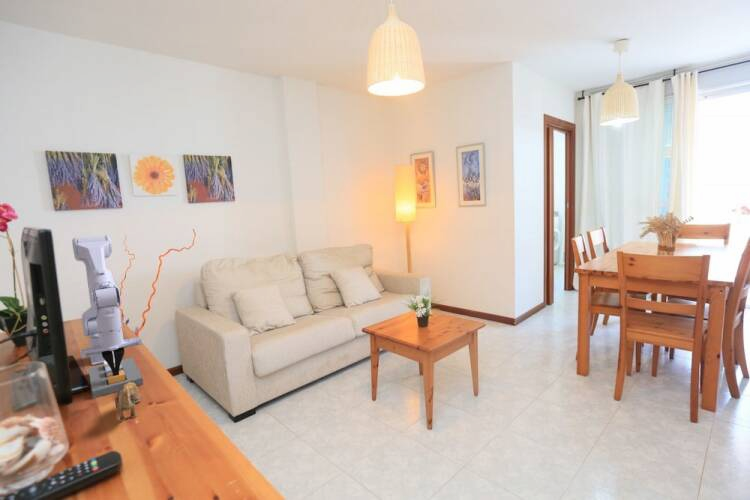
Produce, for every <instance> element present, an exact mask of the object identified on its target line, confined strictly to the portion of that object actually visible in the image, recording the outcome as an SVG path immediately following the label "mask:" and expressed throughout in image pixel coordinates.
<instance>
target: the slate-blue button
mask: <svg viewBox="0 0 750 500" xmlns="http://www.w3.org/2000/svg"><path fill="white" fill-rule="evenodd" d="M114 366H115V365H114ZM105 369H106V376H107V374H110V373H112V370H111V368H110V366H109V367H105ZM122 370H123V369H122V365H121V364H120V369H119V371H122Z"/></svg>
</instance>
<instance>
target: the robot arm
mask: <svg viewBox="0 0 750 500" xmlns="http://www.w3.org/2000/svg"><path fill="white" fill-rule="evenodd" d="M71 241H72V242H71V243H72V250H73V255H74V259H75V261H77V262H82V263H83V264H84V266H85V272H86V281H87V287H88V296H89V304H90V307H89V308H88V309H87V310H85V311H84V312H83V313H82V315H81V318H82V319H81V324H82V330H83V335H84V336H86V337H88V338H89V344H90V347H87V348H83V349H80V356H81V359H85V358H87V357H90V358H89V359H90V363H91V366H96V365H98V364H102V363H103V364H104V361H106V362H107V363H108V365H109V366H110V368H111V370H112V373H113V376H116V375H119V369H120V364H121V360H123V358H124V355H125V349H126V348H131V347H136V346H142V345H143V340H142V337H140V336H139V337H133V338H126V339H124V335H123V325H122V318H121V310H120V307H121V304H122V303H121V302H122V298H121V297H122V296H121V292H120V290H119V287H118V285H117V284H115V280H114V277H113V273H112V271H111V270H110V269H107V267H106V259H107V258H109V257H110V256H111V255H112V252H113V248H112V247H113V246H112V240H111V237H110V236H109V235H99V236H86V237H73V238H72V240H71ZM114 359H115V366H114Z"/></svg>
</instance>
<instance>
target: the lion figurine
mask: <svg viewBox="0 0 750 500" xmlns="http://www.w3.org/2000/svg"><path fill="white" fill-rule="evenodd" d="M141 396H142V394H141V393H139V388H138V386H136V384H135V383H132V382H129V383H127V384H125V385H124V386H123V388H122V389H121V390H119V391H118V392H117V394H116V397H115V398H114V400H115V401H114V403H115V408H116V409H117V413H118V416H119V419H118V422H119V423H123V422H125V420H126V417H125V415H124V414H125V413H124V412H127V411H129V410H130V417H131V419H135V418H137V417H138V414H136V404H139V403H141V399H140V398H141Z"/></svg>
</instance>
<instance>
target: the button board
mask: <svg viewBox="0 0 750 500" xmlns="http://www.w3.org/2000/svg"><path fill="white" fill-rule="evenodd" d="M121 365H122V369H123V371H124V373H125V379H126V380H125V381H121V382H118V383H114V384H110V385H109V384H108V377H107V376H106V370H105V368H104V363H103V364H100V365H94V366H91V367H88V374H89V379H90V387H91V393H92V398H93V399H95V398H99V397H103V396H106V395H111V394H114V393H118V392H119V390H121V389H122V388H123V386H124V385H125V384H127V383H129V382H132V383H135V384H136V386H137V387H138V386H142V384H143V385H144V381H143V376H142V374H141V372H140V370H139V367H138V365H137V364H136V361H135V359H134V357H132V356H131V357H129V358H125V359H122V360H121Z"/></svg>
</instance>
